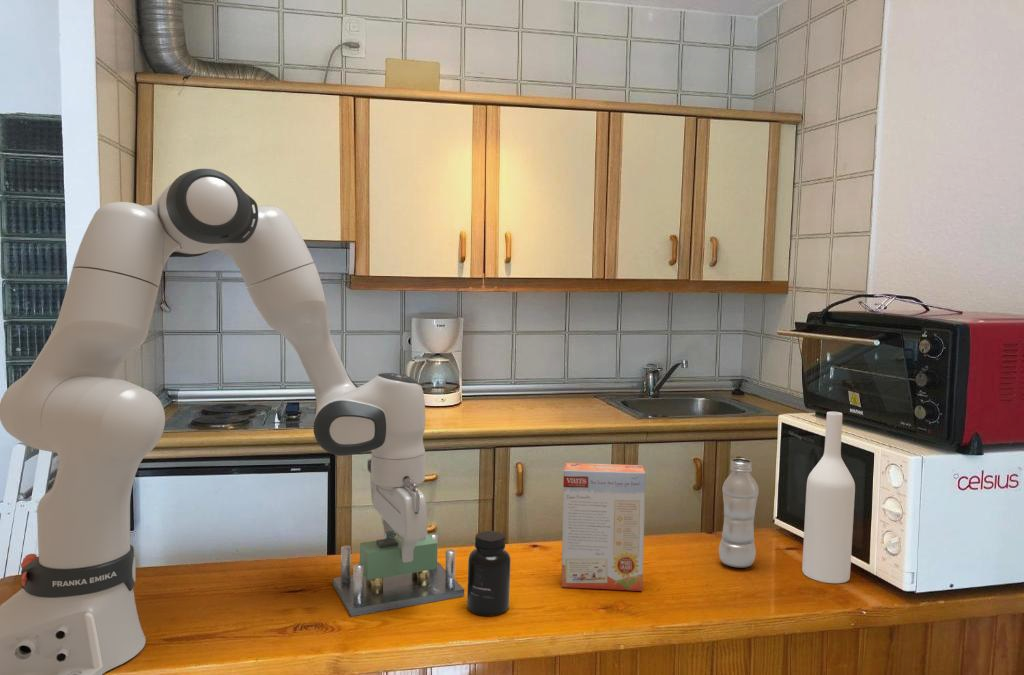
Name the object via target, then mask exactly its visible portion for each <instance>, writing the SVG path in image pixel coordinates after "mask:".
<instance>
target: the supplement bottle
mask: <svg viewBox="0 0 1024 675" xmlns="http://www.w3.org/2000/svg"><path fill="white" fill-rule="evenodd" d="M474 541H475V542H474V549H473V550H472V551H471V552H470V553H469V555H468V562H467V564H468V565H467V592H466V597H467V599H466V600H467V601H466V605H467V608H468V610H469V611H470V612H472V613H473V614H475V615H478V614H479V616H483V615H495V616H498V615H497V614H499V615H501V614H500V613H502V614H504V613H505V612H506V611H507V610H508V609H509V606H510V592H511V590H510V588H511V565H512V564H511V562H512V560H511V556H510V554H509V552H508V551H507V550H506V535H505V534H504V533H503V532H500V531H495V530H484V531H479V532H477V533H476V534H475V540H474ZM503 612H504V613H503Z"/></svg>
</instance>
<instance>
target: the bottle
mask: <svg viewBox="0 0 1024 675" xmlns="http://www.w3.org/2000/svg"><path fill="white" fill-rule="evenodd" d="M825 419H826V420H825V423H826V424H825V436H824V437H825V438H824V450H823V455H822V456H821V458H820V460H819V461H818V462H817V464H816V465H815V466H814V467H813V469H812V470H811V471H810V472H809V474H808V476H807V481H806V489H805V507H804V508H805V509H804V510H805V511H804V525H803V526H804V527H803V528H804V529H803V547H802V563H801V564H802V565H801V566H802V573H803V574H804V575H805V576H806V577H807V578H809V579H811V580H814V581H817V582H820V583H825V584H826V583H827V584H843V583H847V582H848V581H850V579H851V578H850V577H851V569H852V568H851V567H852V551H853V550H852V548H853V546H852V545H853V534H854V533H853V532H854V530H853V529H854V517H855V516H854V514H855V513H854V511H855V498H856V497H855V495H856V483H855V480H854V478H853V476H852V474H851V472H850V471H849V468H848V467H847V466H846V464H845V462H844V460H843V458H842V454H841V453H842V451H841V450H842V433H843V413H842V412H840V411H839V412H838V411H827V412H826V418H825Z"/></svg>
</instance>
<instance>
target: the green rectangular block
mask: <svg viewBox="0 0 1024 675" xmlns="http://www.w3.org/2000/svg"><path fill="white" fill-rule="evenodd" d="M429 534H430V533H427V536H426V539H425V540H424V541H419V542H416V545H415V548H414V551H413V560H412V561H411V562H403V561H402V560H401V558H400V549H402V542H401V537H400V536H399V537H396V538H388V539H384V538H382V539H376V540H373V541H372V540H371V541H367V542H360V543H359V563H361V564H363V565H364V576H365V577H366V579H367V580H371V579H377V578H384V577H390V576H396V575H402V574H408V573H414V572H421V571H427V570H433V569H437V542H436V541H435V540H434V539H433V538H432V537H431V536H430V535H429Z"/></svg>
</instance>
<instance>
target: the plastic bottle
mask: <svg viewBox="0 0 1024 675" xmlns="http://www.w3.org/2000/svg"><path fill="white" fill-rule="evenodd" d="M752 463H753V461H752V460H751V459H749V458H748V459H747V458H742V457H741V458H740V457H739V458H738V457H737V458H732V459H731V460H730V468H729V470H730V471H731V472H730V474H729V475H727V478H726V479H725V480H724V482H723V484H722V487H721V489H722V501H723V515H724V516H723V527H722V533H721V539H720V542H719V546H718V556H719V559H720V561H721V563H723V564H724V565H725V566H729V567H731V568H738V569H741V568H742V569H743V568H749V567H751V566H752V565H753V563H754V562H755V558H756V554H757V553H756V552H757V551H756V543H755V536H754V535H755V534H754V533H755V532H754V531H755V530H754V529H755V528H754V527H755V525H754V523H755V513H756V506H757V502H758V499H759V498H758V497H759V491H760V489H759V485H758V483H757V481H756V480H755V479H754V477H753V476H752V474H751V473H752V472H753V468H752V466H753V464H752Z"/></svg>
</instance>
